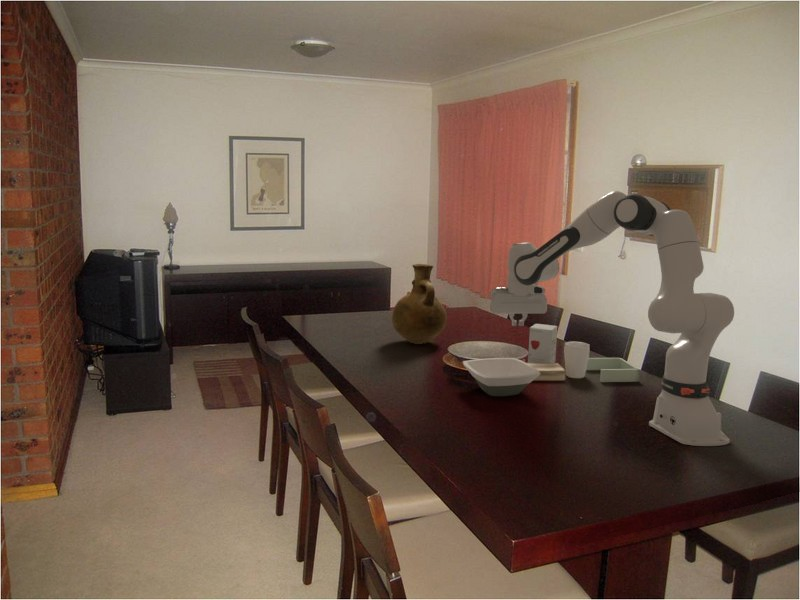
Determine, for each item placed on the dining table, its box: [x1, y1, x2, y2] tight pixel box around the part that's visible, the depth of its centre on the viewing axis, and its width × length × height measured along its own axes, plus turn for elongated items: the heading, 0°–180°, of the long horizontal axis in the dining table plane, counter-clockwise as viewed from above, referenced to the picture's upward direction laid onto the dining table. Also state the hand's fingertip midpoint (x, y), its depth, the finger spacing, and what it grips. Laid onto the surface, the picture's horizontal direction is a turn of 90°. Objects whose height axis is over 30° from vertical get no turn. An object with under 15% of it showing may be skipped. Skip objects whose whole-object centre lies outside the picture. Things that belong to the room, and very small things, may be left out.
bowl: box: [462, 357, 541, 397], centre depth 213 cm, size 22×23×8 cm
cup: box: [563, 340, 590, 379], centre depth 231 cm, size 9×9×12 cm
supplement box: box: [527, 323, 558, 363], centre depth 247 cm, size 9×9×15 cm
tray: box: [586, 357, 641, 383], centre depth 233 cm, size 16×14×4 cm
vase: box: [391, 263, 448, 345], centre depth 275 cm, size 24×24×35 cm
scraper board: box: [526, 362, 566, 381], centre depth 231 cm, size 10×12×4 cm
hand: (517, 325), depth 227 cm, fingers closed
